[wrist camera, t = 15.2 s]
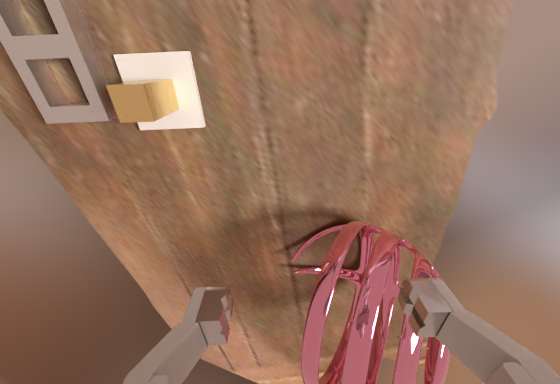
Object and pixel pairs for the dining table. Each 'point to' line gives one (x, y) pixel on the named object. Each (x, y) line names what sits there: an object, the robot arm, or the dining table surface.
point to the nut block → (143, 100)
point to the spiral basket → (366, 311)
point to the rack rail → (66, 45)
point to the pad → (184, 82)
